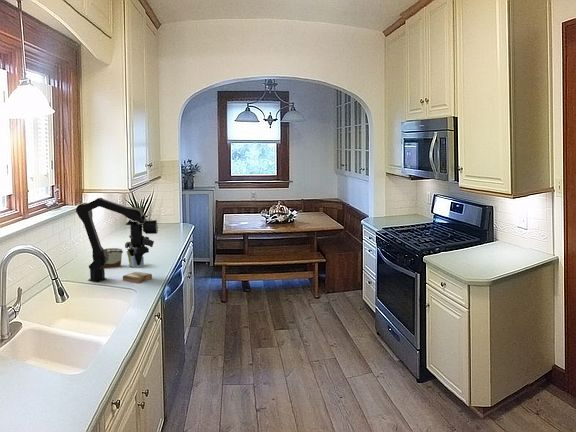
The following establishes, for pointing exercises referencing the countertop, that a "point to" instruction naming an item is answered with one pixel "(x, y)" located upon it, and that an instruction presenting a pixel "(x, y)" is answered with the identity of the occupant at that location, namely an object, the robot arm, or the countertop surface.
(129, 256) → the plant pot
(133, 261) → the block
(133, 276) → the base
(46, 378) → the countertop surface
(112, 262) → the food container
